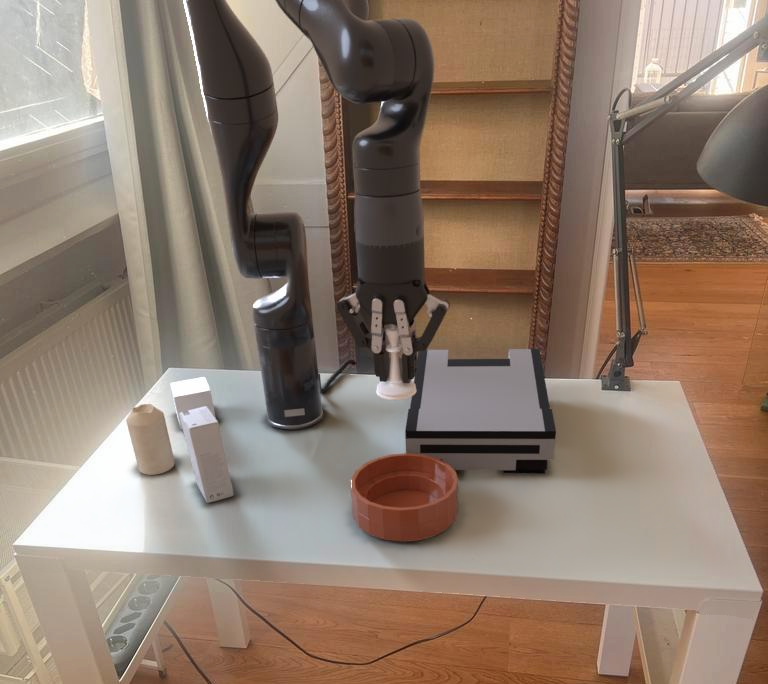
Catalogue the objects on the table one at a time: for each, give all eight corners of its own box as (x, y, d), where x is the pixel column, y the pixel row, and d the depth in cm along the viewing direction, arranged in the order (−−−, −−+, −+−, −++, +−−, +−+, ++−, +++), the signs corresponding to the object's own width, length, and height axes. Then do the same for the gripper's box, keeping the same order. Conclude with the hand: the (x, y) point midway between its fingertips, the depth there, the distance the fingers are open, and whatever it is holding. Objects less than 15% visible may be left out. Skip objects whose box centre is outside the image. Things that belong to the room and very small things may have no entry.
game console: (536, 386, 138) (539, 342, 134) (551, 481, 112) (555, 431, 108) (419, 386, 141) (418, 343, 136) (407, 480, 114) (405, 430, 110)
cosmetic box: (235, 496, 113) (221, 421, 106) (205, 504, 112) (189, 429, 105) (223, 476, 118) (209, 404, 111) (194, 484, 116) (178, 411, 109)
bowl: (369, 482, 114) (366, 449, 111) (465, 491, 111) (466, 457, 108) (340, 538, 103) (337, 503, 100) (447, 550, 100) (447, 514, 97)
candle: (165, 476, 119) (151, 417, 113) (132, 474, 120) (116, 415, 114) (180, 458, 123) (167, 400, 118) (148, 456, 124) (134, 398, 119)
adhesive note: (211, 408, 138) (205, 376, 134) (216, 422, 133) (210, 390, 129) (176, 414, 136) (169, 382, 133) (180, 429, 131) (173, 397, 128)
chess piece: (375, 384, 98) (370, 306, 93) (414, 382, 98) (412, 303, 93) (377, 401, 94) (372, 320, 89) (418, 398, 94) (416, 318, 89)
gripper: (458, 226, 87) (458, 371, 97) (340, 224, 91) (351, 364, 100) (444, 244, 81) (445, 397, 91) (318, 241, 85) (332, 388, 94)
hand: (396, 379), depth 95 cm, fingers closed on chess piece, 2 cm apart
